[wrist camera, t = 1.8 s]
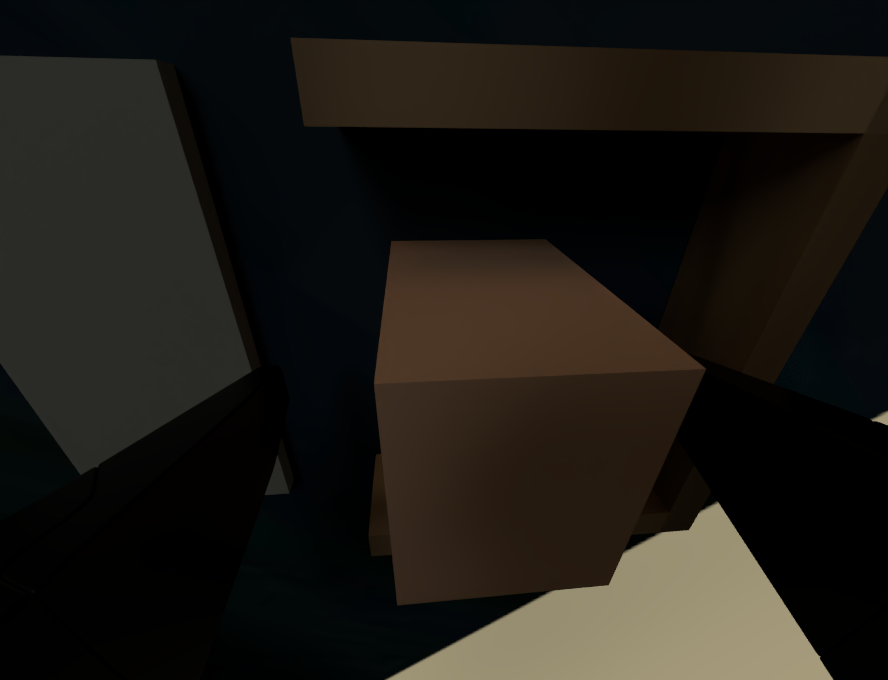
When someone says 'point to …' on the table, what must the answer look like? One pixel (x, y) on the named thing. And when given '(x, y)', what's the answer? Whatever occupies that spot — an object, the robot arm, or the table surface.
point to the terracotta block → (516, 419)
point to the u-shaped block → (661, 109)
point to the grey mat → (112, 256)
